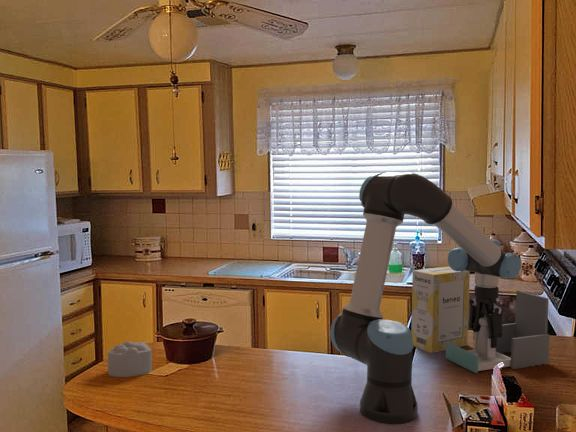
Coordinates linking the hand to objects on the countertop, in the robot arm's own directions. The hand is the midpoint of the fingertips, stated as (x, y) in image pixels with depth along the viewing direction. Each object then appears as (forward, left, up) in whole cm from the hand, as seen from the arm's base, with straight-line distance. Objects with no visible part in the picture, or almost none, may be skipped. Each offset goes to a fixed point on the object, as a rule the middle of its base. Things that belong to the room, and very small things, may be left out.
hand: (484, 353), depth 186 cm
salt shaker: (0, 0, -1) cm, 1 cm away
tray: (0, +1, -3) cm, 3 cm away
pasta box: (+22, +2, -4) cm, 22 cm away
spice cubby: (0, -12, -3) cm, 13 cm away
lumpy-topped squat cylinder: (+33, +112, -4) cm, 117 cm away
